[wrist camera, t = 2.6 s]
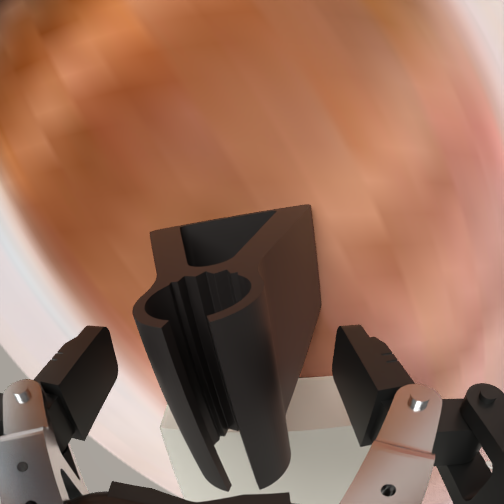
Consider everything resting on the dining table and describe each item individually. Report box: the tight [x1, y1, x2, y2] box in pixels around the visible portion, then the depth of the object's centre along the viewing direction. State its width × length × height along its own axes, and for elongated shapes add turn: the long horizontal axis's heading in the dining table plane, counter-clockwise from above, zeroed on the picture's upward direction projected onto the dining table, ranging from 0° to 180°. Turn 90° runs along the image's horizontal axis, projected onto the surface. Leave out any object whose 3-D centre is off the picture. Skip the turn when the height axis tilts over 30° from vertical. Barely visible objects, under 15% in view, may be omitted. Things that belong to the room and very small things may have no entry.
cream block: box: [160, 376, 371, 504], centre depth 19 cm, size 13×14×5 cm
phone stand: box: [133, 205, 321, 492], centre depth 12 cm, size 9×6×12 cm, turn 99°
